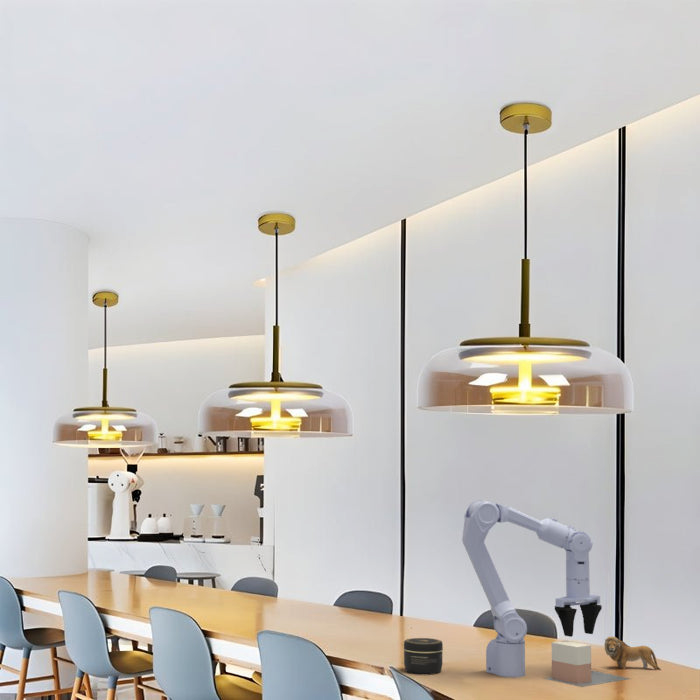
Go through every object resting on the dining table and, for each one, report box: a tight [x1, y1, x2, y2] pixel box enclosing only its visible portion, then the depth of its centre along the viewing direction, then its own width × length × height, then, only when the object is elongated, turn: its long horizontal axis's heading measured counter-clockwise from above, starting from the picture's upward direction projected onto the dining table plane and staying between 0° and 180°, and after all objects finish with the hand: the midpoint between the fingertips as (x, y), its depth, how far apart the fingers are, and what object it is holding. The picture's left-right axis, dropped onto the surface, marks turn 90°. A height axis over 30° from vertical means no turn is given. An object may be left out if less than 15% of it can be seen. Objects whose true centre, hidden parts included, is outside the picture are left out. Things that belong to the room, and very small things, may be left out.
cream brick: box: [551, 640, 592, 665], centre depth 241 cm, size 8×5×4 cm, turn 36°
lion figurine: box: [604, 636, 662, 671], centre depth 256 cm, size 15×5×9 cm, turn 94°
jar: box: [403, 637, 444, 675], centre depth 254 cm, size 10×10×8 cm
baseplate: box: [542, 670, 632, 688], centre depth 242 cm, size 12×18×1 cm, turn 126°
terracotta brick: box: [551, 659, 592, 684], centre depth 240 cm, size 8×5×4 cm, turn 36°
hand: (578, 634), depth 249 cm, fingers open, 7 cm apart
